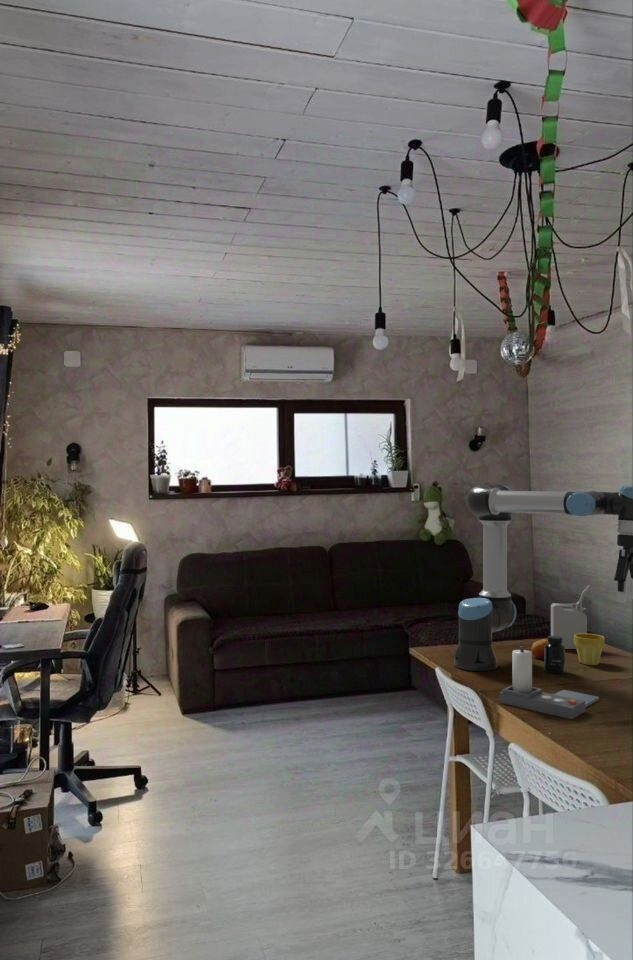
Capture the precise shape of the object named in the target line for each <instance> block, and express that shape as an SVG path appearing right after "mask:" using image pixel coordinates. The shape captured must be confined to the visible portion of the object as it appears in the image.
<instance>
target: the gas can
mask: <svg viewBox="0 0 633 960" xmlns="http://www.w3.org/2000/svg"><path fill="white" fill-rule="evenodd" d="M591 587H592V586H591V585H590V584H588V586H586V588H584V589H583V591H582V592H581V594H580V597H579V600H578V601H577V602H573V603H555V602H554V603H551V604H550V636H559V637H562V645H563V646H564V647H565V649H576V650H575V651H577V648H576V645H575V644H574V635H575V634H582V633H586V634H588V616H587V615H586V613H584V612H583V611H584V610H587V608H586V607H583V600H584V597H585V594H586V593H587V592H588V591H589V589H590V588H591Z"/></svg>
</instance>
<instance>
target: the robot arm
mask: <svg viewBox="0 0 633 960" xmlns="http://www.w3.org/2000/svg"><path fill="white" fill-rule="evenodd" d="M466 506H467V508H468V510H469V511H470V512H471V513H472V514H473V515H475V516H477V517H478V520H479V522H480V523H481V524H482V528H483V531H482V537H483V538H482V539H483V540H482V541H483V542H482V543H483V544H482V546H483V547H482V548H483V549H482V551H483V552H482V556H483V557H482V562H483V565H482V569H483V570H482V572H483V573H482V577H483V578H482V590H481V591H480V592H479V593H478V597H473V598H470V597H469V598H466V599H463V600H462V601H460V603H459V604H458V612H457V613H458V645H457V647H456V651H455V654H454V657H453V666H454V667H456V668H458V669H460V670H464V671H473V672H488V671H489V672H490V671H494V670H496V669H497V668H498V659H497V656H496V653H495V650H494V646H493V633H496V632H500V631H504V630H506V629H508V628H509V627H511V626H512V625H513V624H514V622H515V620H516V618H517V613H518V612H517V607H516V605H515V603H514V602H513V600H512V594H511V592H509V591H508V525H509V524H511V523H512V514H513V513H514V514H515V513H516V514H541V515H542V514H543V515H562V516H563V515H566V516H577V517H586V516H595V515H598V516H599V515H603V516H604V515H608V516H618V518H617V531H616V532H617V533H618V534H617V540H616V545H617V546H618V547H622V549H621V548H619V551H618V552H619V553H618V559H617V565H616V568H615V569H616V570H615V574H614V578H613V580H614V581H616V599H615V602H616V603H623V604H624V603H625V604H627V587H628V586H627V585H628V583H627V582H628V581H627V577H628V574H629V575H630V578H629V587H628V588H629V589H628V599H629V600H630V599H631V600H633V485H632V486H630V485H629V486H626V485H625V486H624V485H623V486H620V487H619V489H618V491H616V492H614V491H595V490H591V491H551V490H549V491H547V490H546V491H545V490H538V491H537V490H530V491H529V490H512V489H511V487H508V486H507V485H503V484H499V483H498V484H497V483H495V484H479V485H476V486H474V487H472V488H471V489H470V490H469V492H468V493H467V494H466Z"/></svg>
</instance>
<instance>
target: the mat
mask: <svg viewBox="0 0 633 960" xmlns="http://www.w3.org/2000/svg"><path fill="white" fill-rule="evenodd" d="M553 694H554V695H559V696H563V697H568V698H573V699H578V700H582V701H585V708H587V707H588V706H591V705H592V704H594V703H596V702H598V701H599V700H600V696H596V695H591V694H586V693H582V692H576V691H572V690H566V689H561V690H560V691H558V692H556V693H553Z"/></svg>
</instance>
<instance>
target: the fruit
mask: <svg viewBox="0 0 633 960" xmlns="http://www.w3.org/2000/svg"><path fill="white" fill-rule="evenodd" d="M546 644H548V639H545V638H541V639H540V640H537V641H534V642H533V643H532V646H531V652H532V656H534V657H535V658H536V659H539V660H544V653H545V645H546Z"/></svg>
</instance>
